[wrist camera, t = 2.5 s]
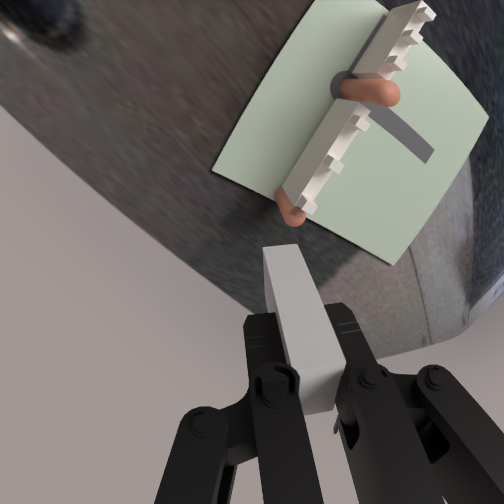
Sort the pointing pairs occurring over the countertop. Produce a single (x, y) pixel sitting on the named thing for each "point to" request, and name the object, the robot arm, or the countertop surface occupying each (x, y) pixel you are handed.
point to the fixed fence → (387, 56)
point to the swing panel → (320, 160)
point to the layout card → (364, 144)
